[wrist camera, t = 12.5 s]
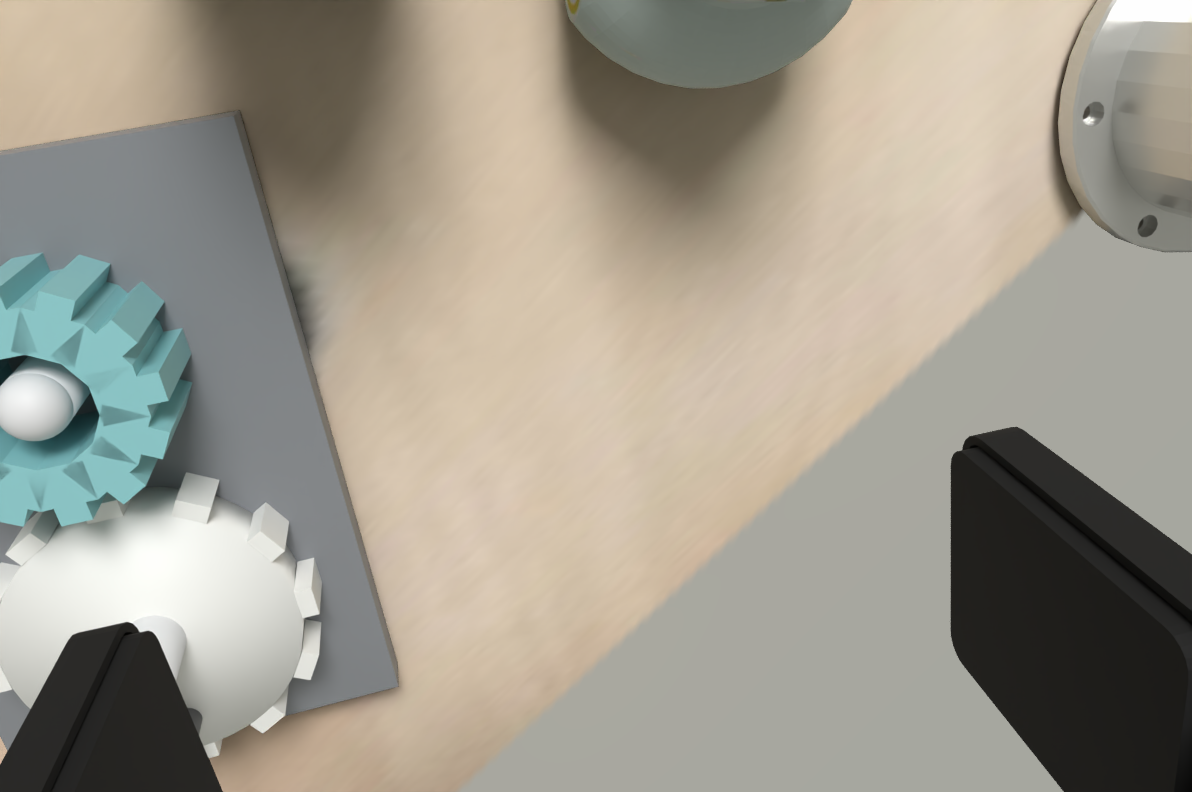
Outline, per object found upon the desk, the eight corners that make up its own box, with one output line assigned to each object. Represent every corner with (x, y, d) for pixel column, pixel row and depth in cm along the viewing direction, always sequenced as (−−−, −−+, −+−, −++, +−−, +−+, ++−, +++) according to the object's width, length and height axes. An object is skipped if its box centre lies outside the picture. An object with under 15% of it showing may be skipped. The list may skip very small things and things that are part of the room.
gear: (150, 232, 30) (120, 265, 26) (220, 439, 32) (202, 495, 29) (-101, 278, 29) (-168, 319, 25) (-5, 487, 31) (-53, 551, 28)
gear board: (239, 110, 30) (209, 138, 24) (397, 662, 39) (402, 780, 33) (-248, 193, 28) (-409, 245, 22) (37, 754, 37) (-24, 896, 31)
